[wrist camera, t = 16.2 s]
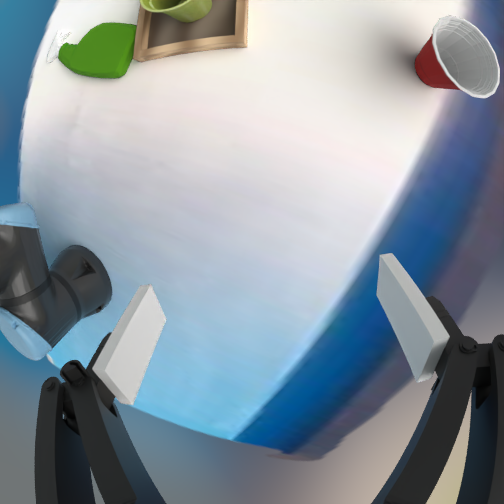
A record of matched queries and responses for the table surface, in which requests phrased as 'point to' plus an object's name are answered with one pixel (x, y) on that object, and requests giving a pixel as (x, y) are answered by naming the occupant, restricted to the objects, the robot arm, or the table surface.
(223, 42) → the square wooden tray
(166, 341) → the table surface
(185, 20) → the plant pot
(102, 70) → the spray bottle
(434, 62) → the plastic cup
